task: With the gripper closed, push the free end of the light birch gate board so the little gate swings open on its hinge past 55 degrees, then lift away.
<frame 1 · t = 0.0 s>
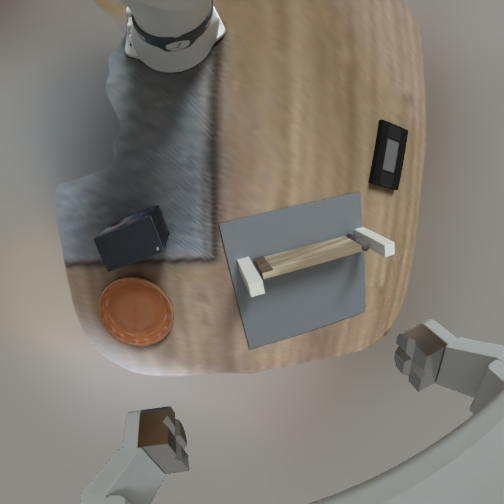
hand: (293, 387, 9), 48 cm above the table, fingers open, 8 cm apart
gate frame: (304, 247, 61), on the table
gate leaf: (312, 254, 57), point 5 cm above the table, hinge at 0.0°
vhs tape: (385, 155, 59), on the table
small box: (138, 228, 53), on the table
saucer: (136, 307, 58), on the table
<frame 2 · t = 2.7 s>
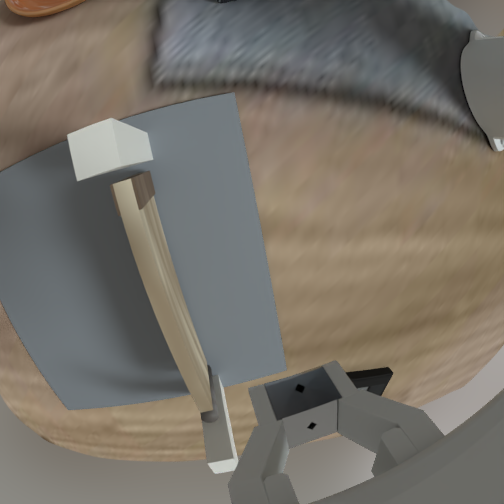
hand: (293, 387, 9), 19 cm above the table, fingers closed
gate frame: (175, 286, 27), on the table
gate leaf: (173, 309, 23), point 5 cm above the table, hinge at 0.0°
vhs tape: (338, 388, 38), on the table
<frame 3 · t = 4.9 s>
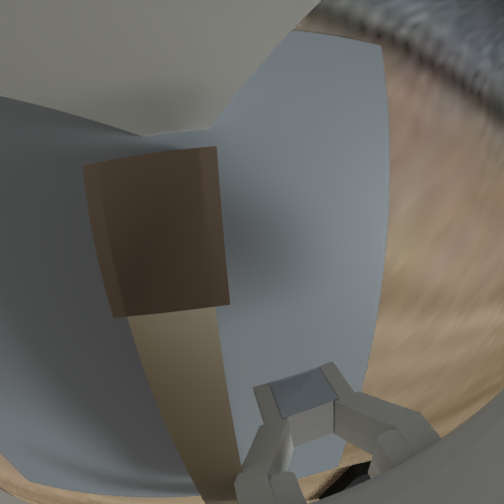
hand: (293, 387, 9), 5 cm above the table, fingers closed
gate frame: (210, 381, 14), on the table
gate leaf: (220, 450, 10), point 5 cm above the table, hinge at 0.0°, touching gripper
vhs tape: (380, 467, 25), on the table
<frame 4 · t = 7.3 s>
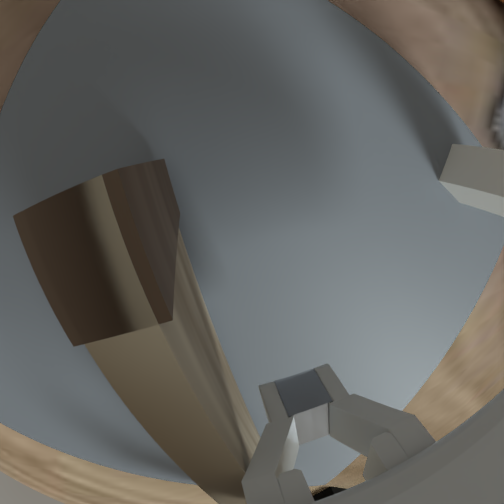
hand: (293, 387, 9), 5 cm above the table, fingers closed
gate frame: (343, 370, 16), on the table
gate leaf: (240, 449, 10), point 5 cm above the table, hinge at 40.8°, touching gripper
vhs tape: (331, 500, 26), on the table
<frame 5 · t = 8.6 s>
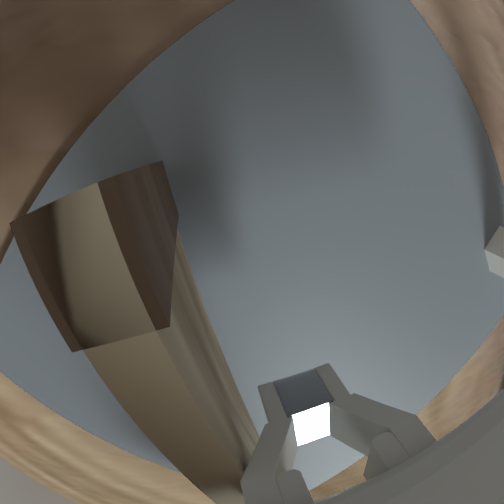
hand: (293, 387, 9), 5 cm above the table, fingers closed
gate frame: (373, 383, 17), on the table
gate leaf: (240, 450, 10), point 5 cm above the table, hinge at 60.5°, touching gripper
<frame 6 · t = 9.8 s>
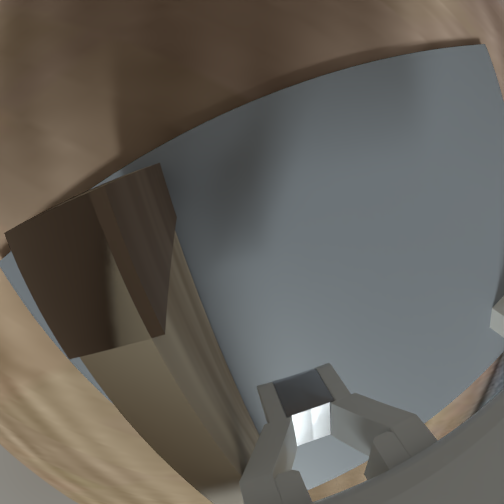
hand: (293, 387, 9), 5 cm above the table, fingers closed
gate frame: (384, 400, 18), on the table
gate leaf: (240, 451, 10), point 5 cm above the table, hinge at 78.9°, touching gripper
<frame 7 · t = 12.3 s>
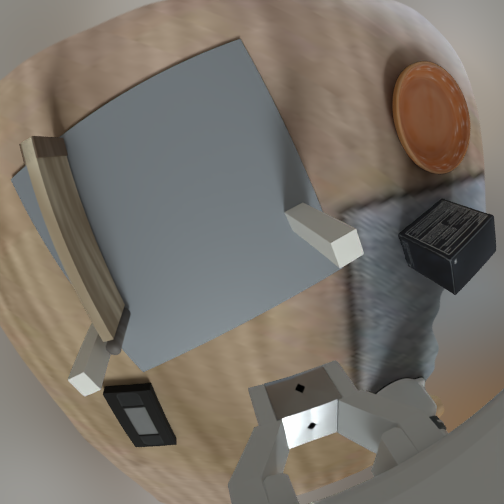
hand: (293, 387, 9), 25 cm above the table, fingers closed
gate frame: (195, 270, 33), on the table
gate leaf: (77, 244, 25), point 5 cm above the table, hinge at 79.1°
vhs tape: (142, 412, 40), on the table
small box: (425, 232, 39), on the table
saucer: (424, 117, 33), on the table
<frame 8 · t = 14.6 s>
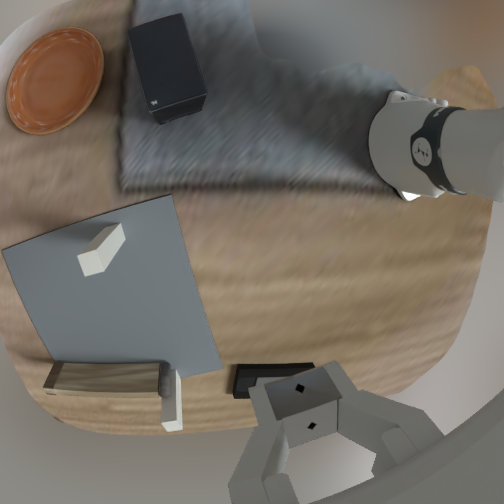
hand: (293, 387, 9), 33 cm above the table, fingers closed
gate frame: (144, 312, 43), on the table
gate leaf: (105, 380, 40), point 5 cm above the table, hinge at 79.1°
vhs tape: (271, 376, 53), on the table
small box: (171, 83, 33), on the table
saucer: (58, 82, 29), on the table
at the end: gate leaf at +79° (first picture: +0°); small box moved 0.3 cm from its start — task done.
